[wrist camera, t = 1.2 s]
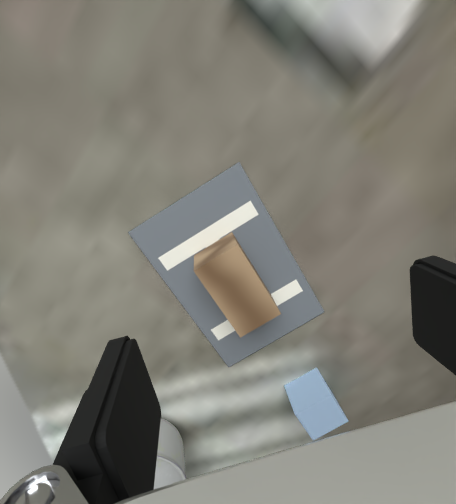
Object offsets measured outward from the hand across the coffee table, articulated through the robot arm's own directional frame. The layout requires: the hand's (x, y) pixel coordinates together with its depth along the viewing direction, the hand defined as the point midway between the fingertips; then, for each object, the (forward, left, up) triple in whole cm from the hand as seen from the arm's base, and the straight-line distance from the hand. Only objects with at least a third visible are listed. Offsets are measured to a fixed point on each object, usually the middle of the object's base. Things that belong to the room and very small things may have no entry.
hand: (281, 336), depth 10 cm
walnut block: (+3, +7, -25) cm, 26 cm away
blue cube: (+3, +27, -26) cm, 38 cm away
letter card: (+3, +7, -25) cm, 27 cm away
